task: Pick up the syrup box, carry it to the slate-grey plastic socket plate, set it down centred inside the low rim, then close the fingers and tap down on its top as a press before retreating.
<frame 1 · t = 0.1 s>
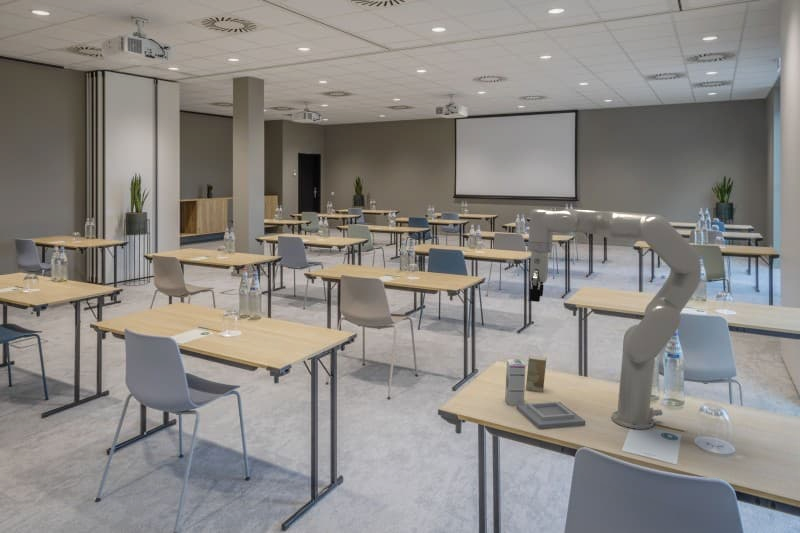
hand: (536, 298, 193), 37 cm above the table, tool pointing down, fingers open, 9 cm apart
syrup box: (514, 402, 201), on the table
skincare box: (534, 389, 214), on the table
socket plate: (549, 417, 190), on the table
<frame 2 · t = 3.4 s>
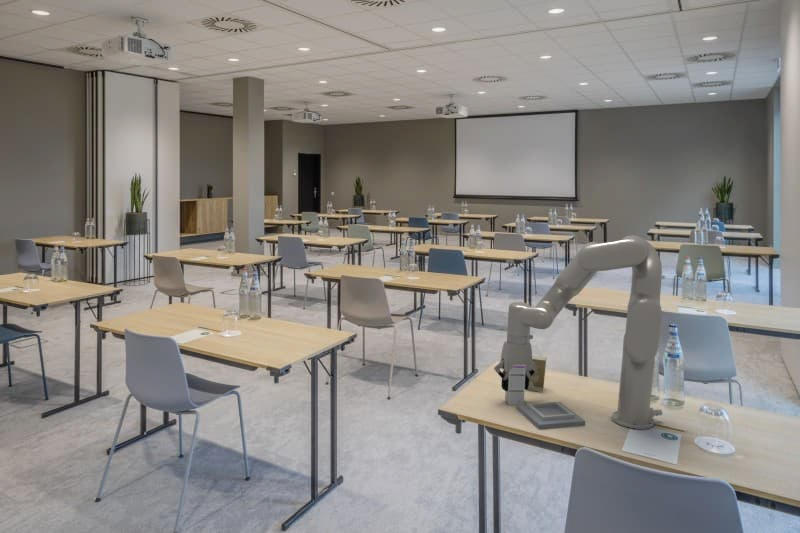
hand: (514, 388, 201), 5 cm above the table, tool pointing down, fingers closed on syrup box, 6 cm apart
syrup box: (514, 402, 201), on the table, touching gripper
everything else where it was.
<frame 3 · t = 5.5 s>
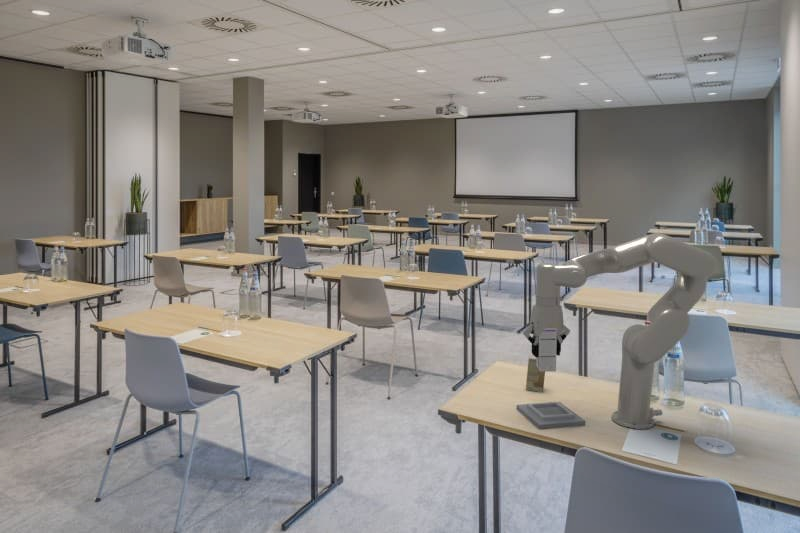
hand: (546, 354, 190), 20 cm above the table, tool pointing down, fingers closed on syrup box, 6 cm apart
syrup box: (545, 369, 190), point 15 cm above the table, touching gripper
everything else where it was.
when the fingers open (7 cm above the table, at t = 8.0 s): syrup box stays where it is, resting on socket plate.
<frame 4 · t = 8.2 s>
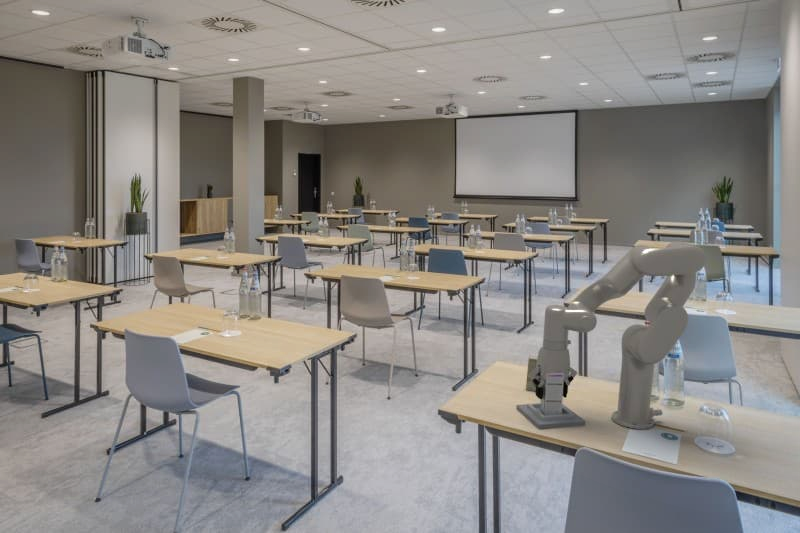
hand: (551, 396, 188), 7 cm above the table, tool pointing down, fingers open, 8 cm apart
syrup box: (550, 413, 189), point 1 cm above the table, touching socket plate
everything else where it was.
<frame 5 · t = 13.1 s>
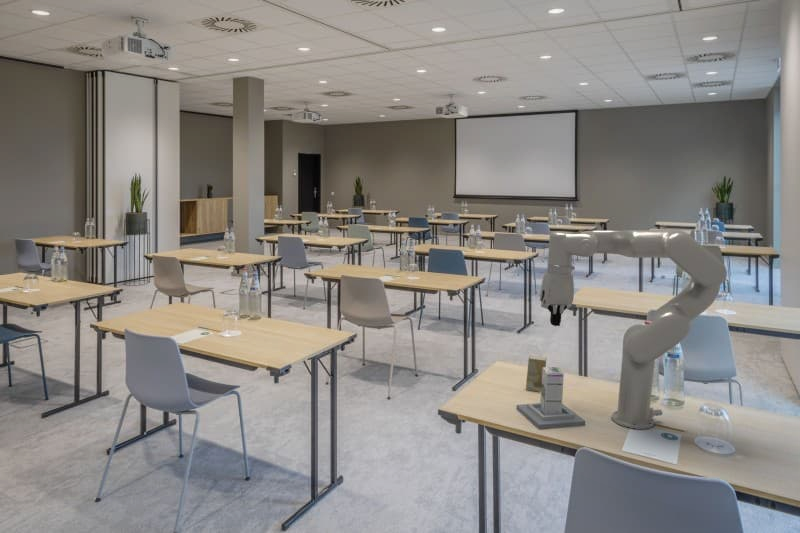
hand: (555, 324, 192), 29 cm above the table, tool pointing down, fingers closed
nothing on the table moved.
at the end: syrup box 0.1 cm off-centre on the socket plate, point 1.3 cm above the socket plate's base; syrup box tilted 0°; the gripper is holding nothing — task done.
